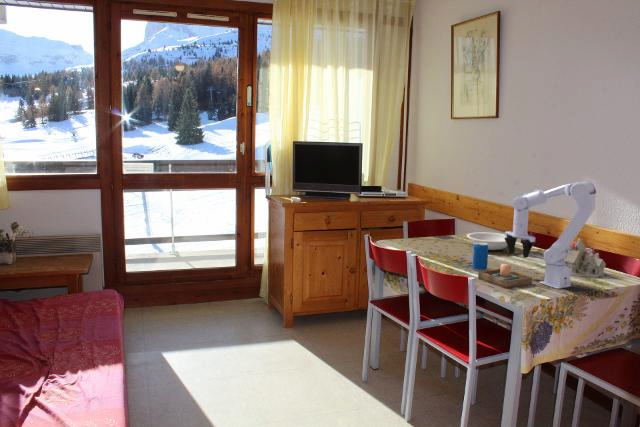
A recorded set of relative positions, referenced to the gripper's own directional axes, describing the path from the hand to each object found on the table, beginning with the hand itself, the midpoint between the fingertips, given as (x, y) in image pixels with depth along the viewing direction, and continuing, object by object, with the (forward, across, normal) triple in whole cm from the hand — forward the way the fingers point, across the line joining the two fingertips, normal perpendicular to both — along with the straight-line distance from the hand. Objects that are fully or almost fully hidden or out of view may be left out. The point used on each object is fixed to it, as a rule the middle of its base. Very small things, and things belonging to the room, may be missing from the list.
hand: (518, 255), depth 237 cm
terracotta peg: (+8, -3, +10) cm, 13 cm away
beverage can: (+10, +16, +6) cm, 20 cm away
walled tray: (+9, -3, +10) cm, 14 cm away
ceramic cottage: (+10, -9, -30) cm, 33 cm away
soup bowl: (+10, +44, -29) cm, 54 cm away
